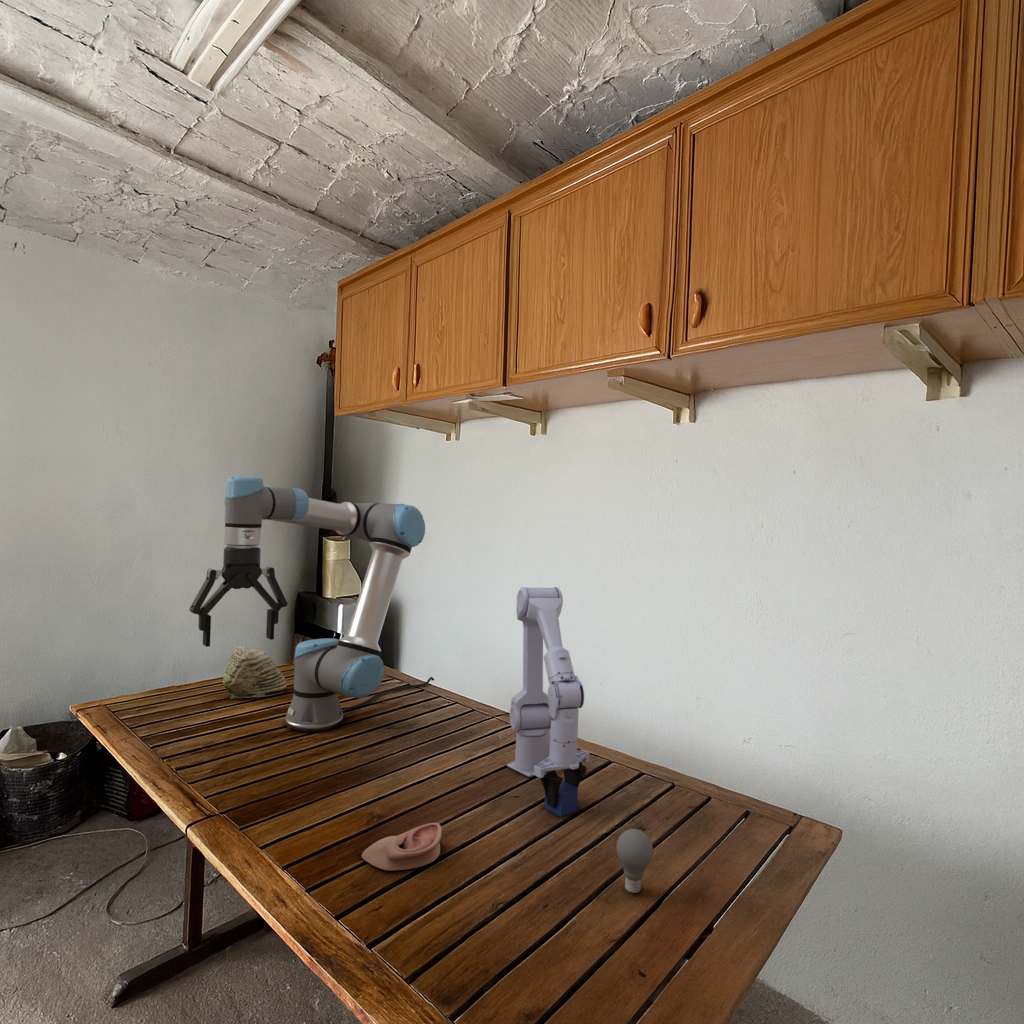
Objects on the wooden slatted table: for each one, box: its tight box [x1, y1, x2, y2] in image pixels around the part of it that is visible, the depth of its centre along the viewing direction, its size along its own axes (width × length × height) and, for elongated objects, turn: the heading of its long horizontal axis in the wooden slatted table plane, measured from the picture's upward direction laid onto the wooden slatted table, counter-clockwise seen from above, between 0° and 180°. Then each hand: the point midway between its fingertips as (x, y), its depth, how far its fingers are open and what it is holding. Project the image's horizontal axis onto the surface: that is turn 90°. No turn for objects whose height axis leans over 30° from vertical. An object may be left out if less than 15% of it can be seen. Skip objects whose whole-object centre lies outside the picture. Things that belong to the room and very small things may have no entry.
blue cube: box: [543, 780, 579, 818], centre depth 133 cm, size 5×5×5 cm
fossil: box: [222, 646, 288, 699], centre depth 198 cm, size 9×18×15 cm, turn 132°
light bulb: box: [615, 828, 654, 894], centre depth 106 cm, size 6×6×10 cm
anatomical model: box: [361, 822, 443, 872], centre depth 114 cm, size 13×4×12 cm
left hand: (239, 642), depth 141 cm, fingers open, 13 cm apart
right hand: (560, 802), depth 133 cm, fingers closed on blue cube, 5 cm apart
